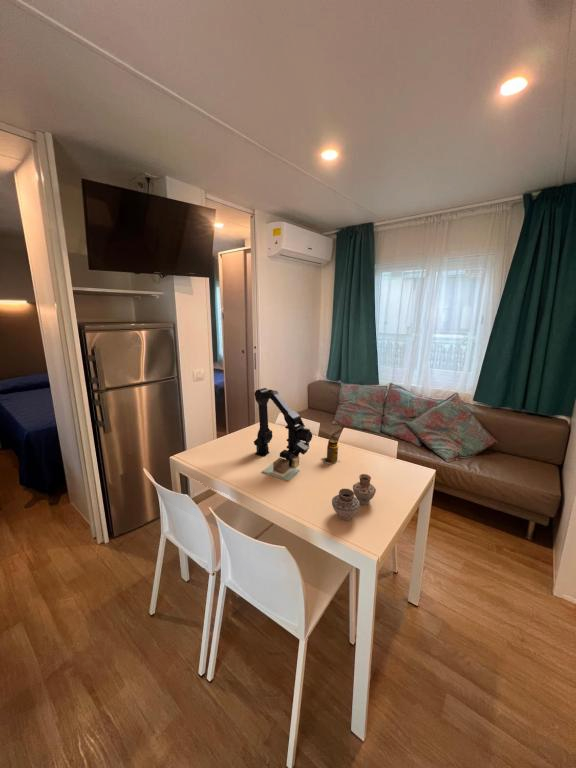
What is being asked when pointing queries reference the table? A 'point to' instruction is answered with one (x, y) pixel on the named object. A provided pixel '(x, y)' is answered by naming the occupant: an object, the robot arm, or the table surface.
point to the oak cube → (295, 462)
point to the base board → (285, 476)
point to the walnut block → (281, 465)
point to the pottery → (353, 498)
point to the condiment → (331, 452)
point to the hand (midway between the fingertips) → (293, 463)
